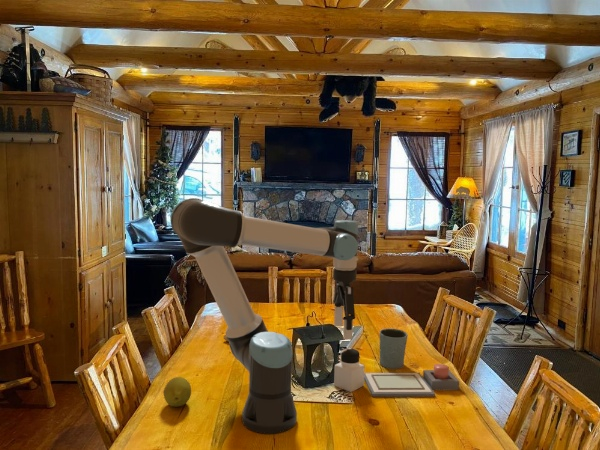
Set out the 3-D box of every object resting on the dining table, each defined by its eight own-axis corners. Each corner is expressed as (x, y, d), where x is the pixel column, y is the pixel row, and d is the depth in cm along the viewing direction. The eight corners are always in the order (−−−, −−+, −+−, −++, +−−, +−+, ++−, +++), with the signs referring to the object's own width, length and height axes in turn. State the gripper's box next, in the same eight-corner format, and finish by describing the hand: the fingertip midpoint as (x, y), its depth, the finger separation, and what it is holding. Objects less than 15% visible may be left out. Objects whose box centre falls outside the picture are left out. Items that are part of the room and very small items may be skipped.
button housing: (458, 390, 157) (459, 381, 157) (431, 390, 157) (432, 381, 157) (448, 378, 166) (449, 370, 166) (422, 378, 166) (423, 370, 165)
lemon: (168, 396, 147) (168, 371, 147) (194, 397, 148) (194, 372, 147) (158, 414, 137) (158, 386, 136) (186, 414, 137) (186, 387, 136)
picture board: (434, 396, 152) (435, 391, 152) (372, 396, 151) (372, 392, 151) (419, 375, 168) (419, 371, 168) (362, 375, 167) (362, 371, 167)
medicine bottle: (364, 386, 159) (365, 350, 158) (351, 392, 154) (352, 356, 152) (346, 379, 164) (348, 344, 162) (333, 385, 158) (334, 350, 157)
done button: (450, 381, 159) (451, 369, 159) (436, 381, 159) (436, 369, 158) (445, 375, 164) (445, 364, 164) (431, 375, 164) (431, 364, 163)
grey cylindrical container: (388, 357, 185) (390, 326, 184) (411, 365, 178) (413, 333, 176) (372, 364, 178) (373, 332, 177) (395, 372, 171) (397, 339, 169)
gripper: (366, 276, 145) (364, 345, 147) (347, 261, 169) (345, 320, 171) (342, 276, 144) (340, 345, 146) (326, 261, 168) (324, 320, 170)
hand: (342, 332), depth 158 cm, fingers open, 13 cm apart
